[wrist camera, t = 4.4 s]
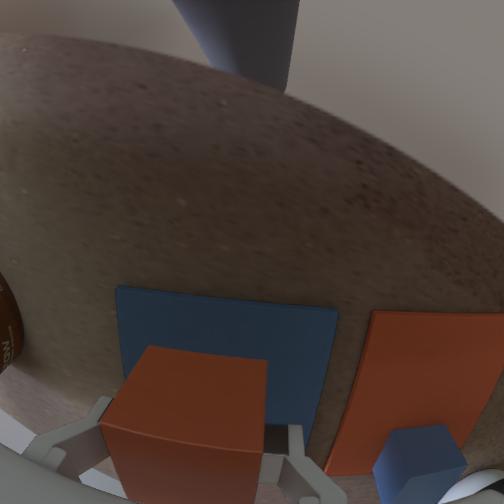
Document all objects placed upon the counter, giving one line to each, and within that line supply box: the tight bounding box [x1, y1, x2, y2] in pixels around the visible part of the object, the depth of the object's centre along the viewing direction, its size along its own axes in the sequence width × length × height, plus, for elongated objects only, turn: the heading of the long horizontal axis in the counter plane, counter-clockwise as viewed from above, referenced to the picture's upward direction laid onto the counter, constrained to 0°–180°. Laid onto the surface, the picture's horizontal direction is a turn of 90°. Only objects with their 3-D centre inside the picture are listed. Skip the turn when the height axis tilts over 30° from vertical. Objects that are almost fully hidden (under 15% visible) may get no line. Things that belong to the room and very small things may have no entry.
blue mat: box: [115, 285, 339, 452], centre depth 18 cm, size 14×12×1 cm
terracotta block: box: [99, 345, 267, 504], centre depth 10 cm, size 5×5×5 cm
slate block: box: [372, 424, 468, 504], centre depth 16 cm, size 5×5×5 cm
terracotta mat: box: [323, 310, 504, 476], centre depth 17 cm, size 14×12×1 cm
